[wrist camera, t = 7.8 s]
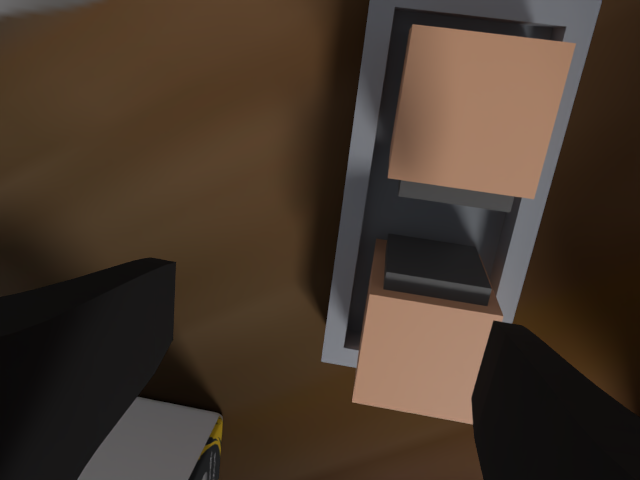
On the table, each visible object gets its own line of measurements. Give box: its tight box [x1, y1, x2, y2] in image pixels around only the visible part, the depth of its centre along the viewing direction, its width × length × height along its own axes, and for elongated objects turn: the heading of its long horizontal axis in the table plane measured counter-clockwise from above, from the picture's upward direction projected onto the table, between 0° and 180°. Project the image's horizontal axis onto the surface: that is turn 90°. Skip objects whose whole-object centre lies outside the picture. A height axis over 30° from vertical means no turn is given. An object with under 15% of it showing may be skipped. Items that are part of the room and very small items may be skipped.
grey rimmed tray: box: [321, 0, 602, 424], centre depth 18 cm, size 14×7×6 cm, turn 174°
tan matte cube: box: [388, 24, 576, 213], centre depth 16 cm, size 5×4×5 cm
